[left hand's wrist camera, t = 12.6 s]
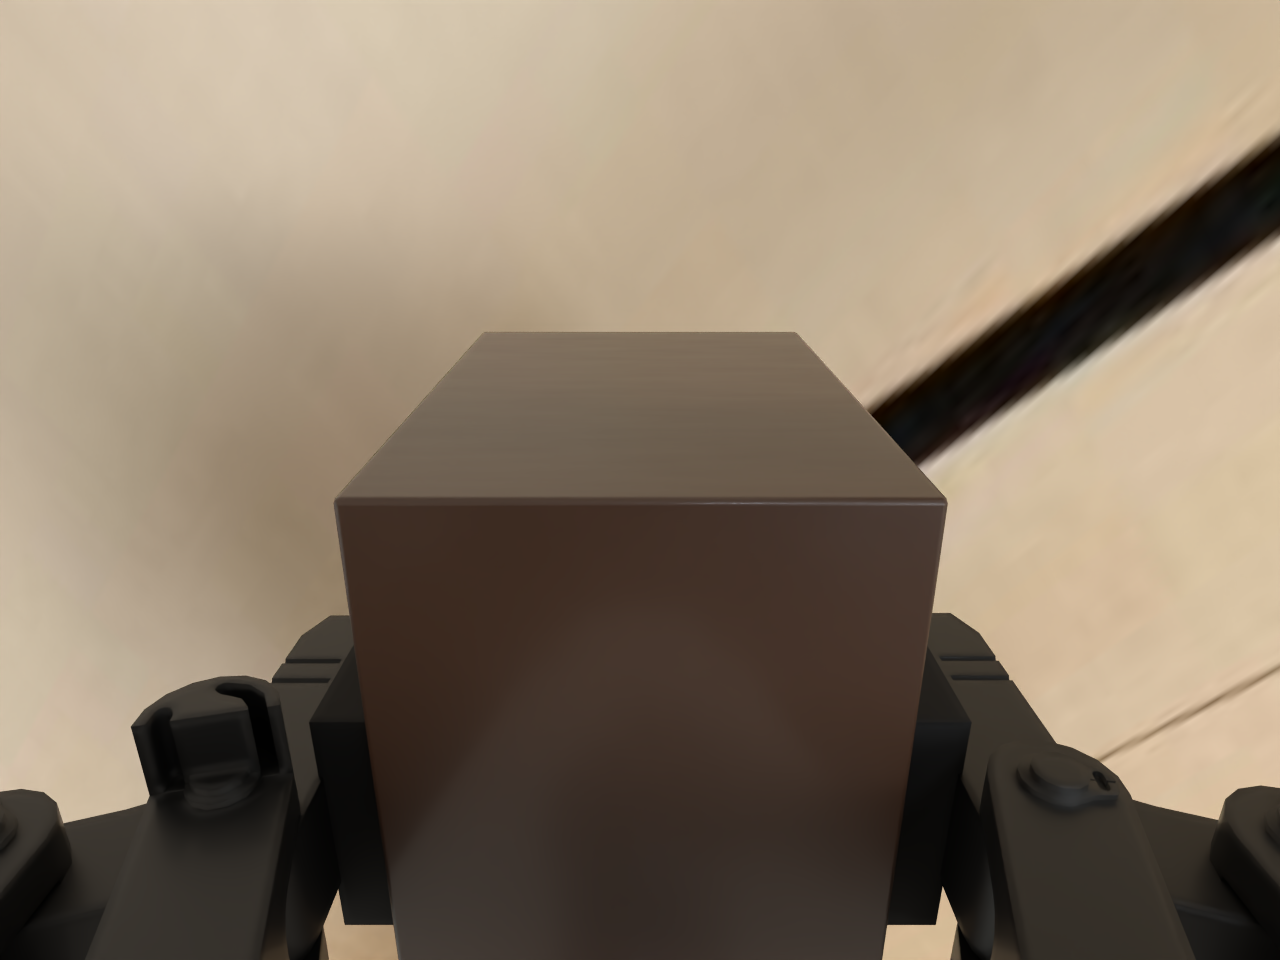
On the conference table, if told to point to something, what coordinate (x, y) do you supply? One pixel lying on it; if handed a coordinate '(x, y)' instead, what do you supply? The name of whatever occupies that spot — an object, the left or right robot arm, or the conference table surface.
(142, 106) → the conference table surface
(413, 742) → the plank
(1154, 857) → the left robot arm
